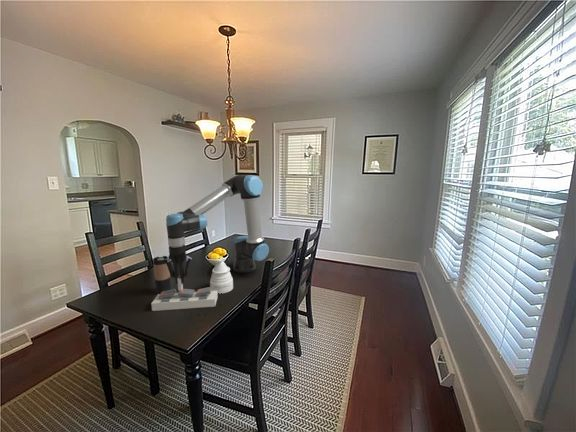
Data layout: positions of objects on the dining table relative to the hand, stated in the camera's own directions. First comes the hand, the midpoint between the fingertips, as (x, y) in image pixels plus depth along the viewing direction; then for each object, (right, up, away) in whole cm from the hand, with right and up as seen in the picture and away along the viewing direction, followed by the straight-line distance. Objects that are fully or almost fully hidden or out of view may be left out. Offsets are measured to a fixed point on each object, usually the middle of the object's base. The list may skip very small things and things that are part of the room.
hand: (180, 289), depth 127 cm
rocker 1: (-6, -3, 0) cm, 7 cm away
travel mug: (-15, -6, +13) cm, 21 cm away
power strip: (+3, -8, +1) cm, 8 cm away
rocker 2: (+11, -2, +2) cm, 12 cm away
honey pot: (+16, -5, +18) cm, 25 cm away
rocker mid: (+2, -3, +1) cm, 4 cm away
